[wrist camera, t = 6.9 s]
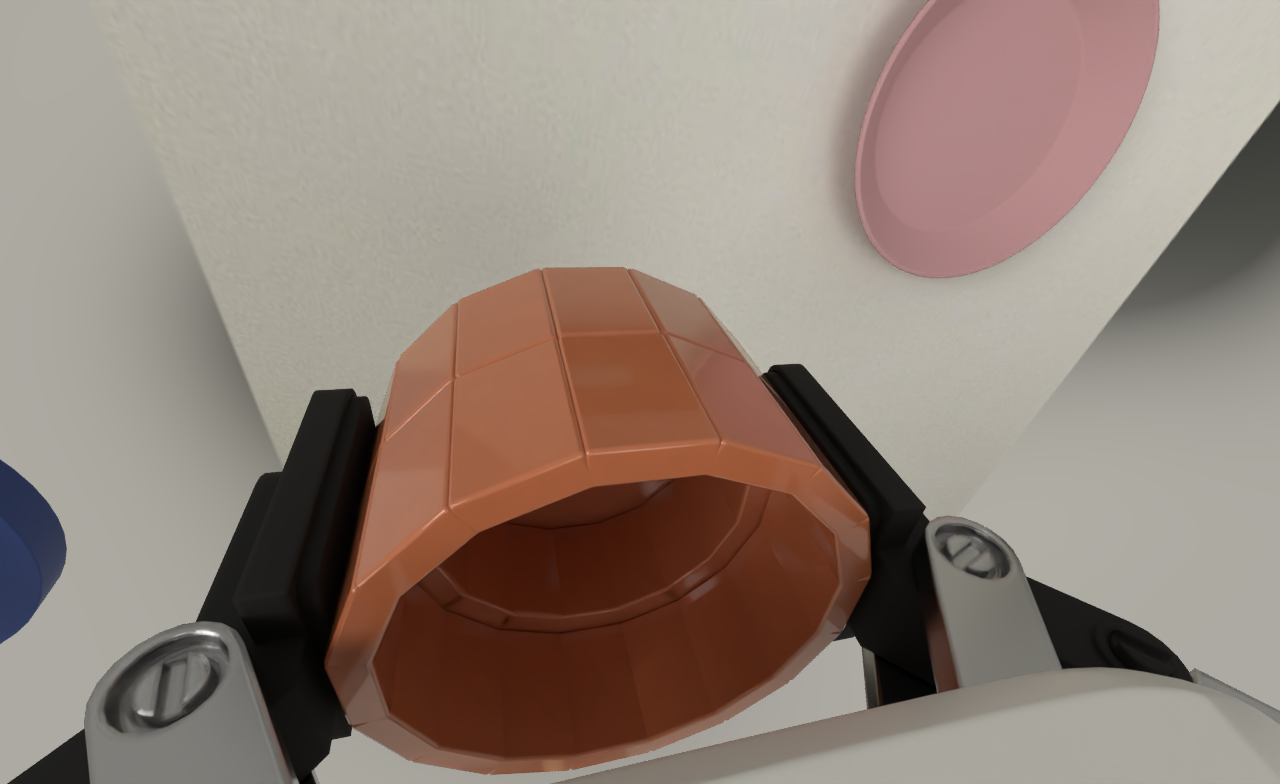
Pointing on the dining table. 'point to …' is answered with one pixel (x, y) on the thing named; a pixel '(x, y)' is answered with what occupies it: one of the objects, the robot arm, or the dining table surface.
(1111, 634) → the robot arm
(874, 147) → the plate
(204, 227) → the dining table surface
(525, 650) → the bowl
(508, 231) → the dining table surface
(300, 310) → the dining table surface
